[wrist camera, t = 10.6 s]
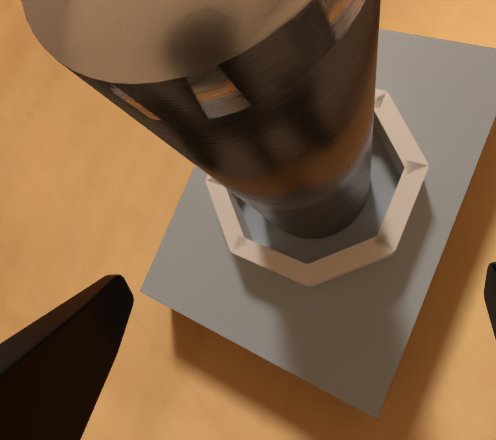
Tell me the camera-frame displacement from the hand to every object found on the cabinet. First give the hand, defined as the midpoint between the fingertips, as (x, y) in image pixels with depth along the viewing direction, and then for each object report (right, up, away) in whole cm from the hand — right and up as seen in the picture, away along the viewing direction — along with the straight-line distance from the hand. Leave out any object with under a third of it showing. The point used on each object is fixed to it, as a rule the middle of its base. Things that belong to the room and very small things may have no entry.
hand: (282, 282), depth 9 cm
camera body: (+3, +3, +10) cm, 11 cm away
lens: (+2, +3, +8) cm, 9 cm away
